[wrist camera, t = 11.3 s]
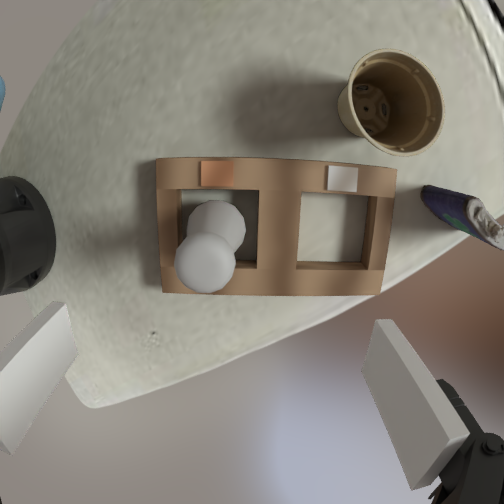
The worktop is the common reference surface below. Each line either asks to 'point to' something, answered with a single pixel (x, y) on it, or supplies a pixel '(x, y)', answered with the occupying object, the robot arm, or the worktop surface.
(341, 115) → the flower pot
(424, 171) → the worktop surface
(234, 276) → the socket board
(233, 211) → the salt shaker
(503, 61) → the worktop surface
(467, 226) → the flask
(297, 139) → the worktop surface
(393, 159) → the worktop surface
